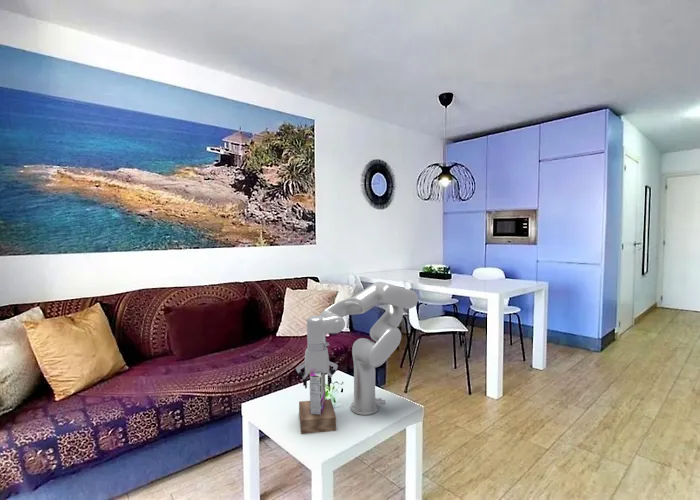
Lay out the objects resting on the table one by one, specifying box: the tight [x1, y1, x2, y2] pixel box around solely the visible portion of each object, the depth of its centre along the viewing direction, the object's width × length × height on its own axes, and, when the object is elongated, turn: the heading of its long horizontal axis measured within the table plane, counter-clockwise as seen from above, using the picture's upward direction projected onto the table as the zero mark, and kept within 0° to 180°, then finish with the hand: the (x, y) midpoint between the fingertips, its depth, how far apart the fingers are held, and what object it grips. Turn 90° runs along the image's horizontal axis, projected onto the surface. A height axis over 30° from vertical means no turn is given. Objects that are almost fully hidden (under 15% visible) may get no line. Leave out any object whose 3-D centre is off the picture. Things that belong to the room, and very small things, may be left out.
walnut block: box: [298, 398, 337, 435], centre depth 156 cm, size 14×16×6 cm
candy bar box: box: [309, 373, 326, 415], centre depth 156 cm, size 11×5×16 cm, turn 175°
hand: (317, 386), depth 155 cm, fingers open, 9 cm apart
